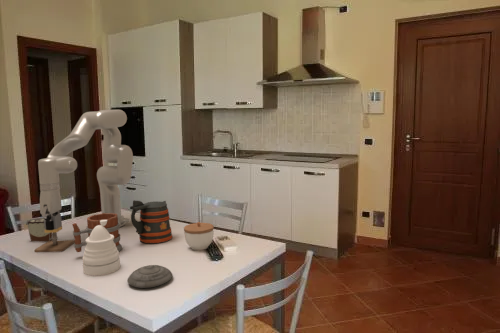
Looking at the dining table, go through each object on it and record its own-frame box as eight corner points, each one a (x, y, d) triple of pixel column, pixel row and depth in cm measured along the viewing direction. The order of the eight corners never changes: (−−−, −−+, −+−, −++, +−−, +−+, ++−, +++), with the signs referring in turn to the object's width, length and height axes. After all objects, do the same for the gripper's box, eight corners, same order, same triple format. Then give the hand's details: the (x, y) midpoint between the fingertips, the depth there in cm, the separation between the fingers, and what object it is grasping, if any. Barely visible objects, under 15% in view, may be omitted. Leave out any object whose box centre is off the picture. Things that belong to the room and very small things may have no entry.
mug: (128, 250, 163) (125, 215, 161) (82, 262, 149) (79, 225, 147) (113, 242, 172) (111, 210, 171) (68, 254, 159) (65, 219, 157)
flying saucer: (118, 285, 129) (116, 269, 128) (150, 269, 142) (150, 255, 141) (150, 295, 121) (148, 278, 120) (181, 277, 134) (181, 262, 133)
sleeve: (62, 229, 170) (61, 213, 169) (56, 232, 165) (55, 216, 164) (50, 229, 170) (49, 213, 169) (44, 232, 165) (43, 216, 164)
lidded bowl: (219, 244, 167) (218, 219, 166) (204, 254, 156) (203, 227, 154) (195, 241, 173) (194, 217, 171) (178, 250, 161) (177, 224, 160)
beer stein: (145, 249, 163) (142, 203, 160) (124, 243, 172) (121, 199, 169) (178, 237, 178) (176, 195, 175) (158, 232, 187) (155, 192, 184)
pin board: (75, 242, 175) (74, 227, 174) (62, 251, 163) (61, 235, 162) (48, 242, 174) (47, 228, 174) (34, 252, 163) (32, 236, 162)
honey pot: (108, 259, 152) (105, 215, 150) (127, 267, 144) (123, 220, 142) (76, 270, 142) (72, 223, 140) (94, 278, 134) (90, 229, 132)
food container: (60, 237, 182) (58, 217, 181) (52, 241, 176) (50, 220, 175) (36, 237, 183) (34, 217, 182) (27, 241, 177) (25, 220, 176)
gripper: (51, 183, 173) (54, 222, 176) (30, 190, 157) (34, 234, 159) (67, 183, 174) (70, 222, 176) (48, 190, 157) (52, 233, 159)
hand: (53, 227), depth 167 cm, fingers closed on sleeve, 5 cm apart
